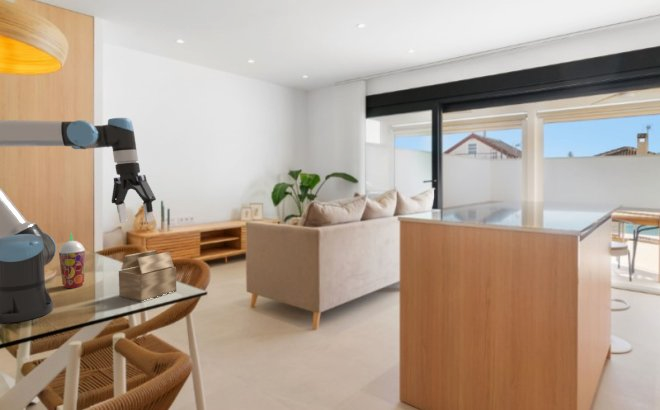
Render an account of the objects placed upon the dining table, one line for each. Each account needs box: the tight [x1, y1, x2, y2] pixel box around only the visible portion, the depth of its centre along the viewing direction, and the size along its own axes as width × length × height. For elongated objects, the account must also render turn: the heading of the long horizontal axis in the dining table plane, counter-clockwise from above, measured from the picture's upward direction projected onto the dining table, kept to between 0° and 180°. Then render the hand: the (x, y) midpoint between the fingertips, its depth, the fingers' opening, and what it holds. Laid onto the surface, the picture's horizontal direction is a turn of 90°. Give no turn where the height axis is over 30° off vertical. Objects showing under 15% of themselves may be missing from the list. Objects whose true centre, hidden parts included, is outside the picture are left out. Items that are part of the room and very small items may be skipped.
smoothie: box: [58, 233, 86, 289], centre depth 147 cm, size 8×8×20 cm
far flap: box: [120, 249, 158, 271], centre depth 141 cm, size 13×1×6 cm, turn 152°
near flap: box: [137, 251, 175, 274], centre depth 136 cm, size 13×1×6 cm, turn 152°
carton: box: [118, 266, 177, 302], centre depth 139 cm, size 14×12×9 cm
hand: (136, 221), depth 142 cm, fingers open, 13 cm apart
